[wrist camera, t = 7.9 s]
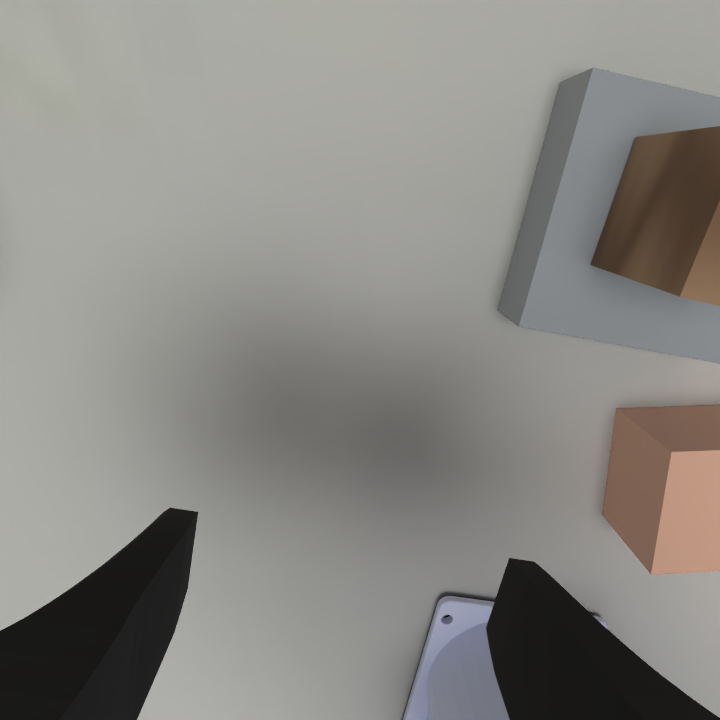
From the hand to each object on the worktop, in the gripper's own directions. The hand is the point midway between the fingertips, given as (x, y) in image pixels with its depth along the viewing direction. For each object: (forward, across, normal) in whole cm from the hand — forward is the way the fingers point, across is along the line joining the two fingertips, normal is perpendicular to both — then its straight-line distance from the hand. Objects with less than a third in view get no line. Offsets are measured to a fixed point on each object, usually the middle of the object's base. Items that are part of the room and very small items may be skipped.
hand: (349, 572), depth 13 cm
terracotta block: (+10, -14, 0) cm, 17 cm away
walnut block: (+7, -9, -9) cm, 15 cm away
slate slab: (+10, -9, -9) cm, 16 cm away
